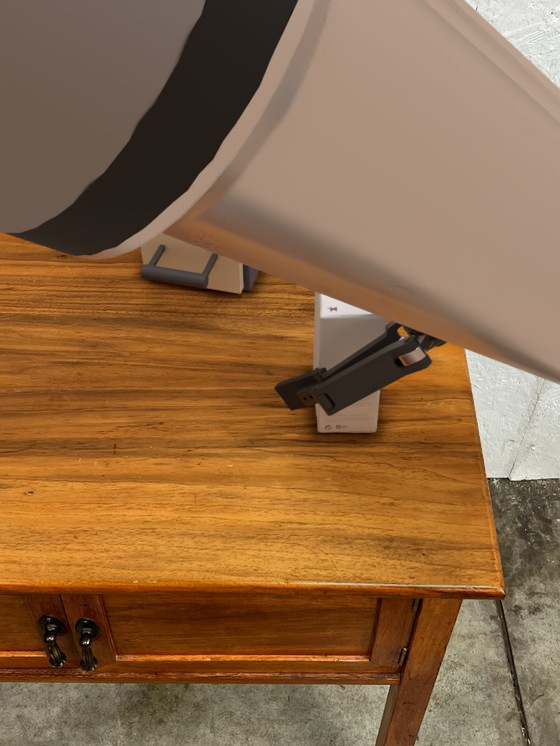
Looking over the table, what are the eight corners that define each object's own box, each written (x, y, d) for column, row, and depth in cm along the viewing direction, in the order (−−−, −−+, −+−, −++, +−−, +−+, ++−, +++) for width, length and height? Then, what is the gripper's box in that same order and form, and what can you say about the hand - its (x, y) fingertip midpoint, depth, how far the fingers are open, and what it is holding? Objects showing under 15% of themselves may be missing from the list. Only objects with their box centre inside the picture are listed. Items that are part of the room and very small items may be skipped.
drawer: (226, 324, 83) (223, 267, 78) (127, 306, 85) (117, 249, 80) (271, 225, 96) (271, 170, 90) (184, 212, 98) (178, 156, 92)
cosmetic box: (376, 434, 74) (393, 317, 63) (313, 435, 74) (319, 318, 63) (368, 371, 80) (382, 254, 69) (309, 371, 80) (314, 255, 69)
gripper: (465, 433, 51) (274, 470, 67) (587, 243, 65) (405, 311, 82) (402, 343, 49) (222, 404, 65) (542, 168, 64) (365, 254, 80)
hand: (323, 353), depth 74 cm, fingers open, 13 cm apart
